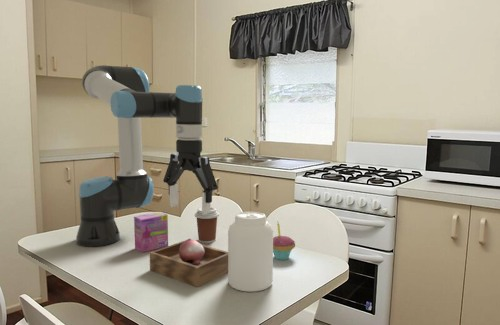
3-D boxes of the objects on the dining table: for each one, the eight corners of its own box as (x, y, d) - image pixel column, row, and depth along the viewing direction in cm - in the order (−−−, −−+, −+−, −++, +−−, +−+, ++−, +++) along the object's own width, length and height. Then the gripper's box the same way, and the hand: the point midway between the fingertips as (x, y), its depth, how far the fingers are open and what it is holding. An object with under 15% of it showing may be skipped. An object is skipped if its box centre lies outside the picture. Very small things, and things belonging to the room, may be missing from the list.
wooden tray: (149, 270, 123) (149, 252, 122) (185, 256, 135) (185, 240, 134) (197, 287, 111) (197, 267, 111) (231, 270, 123) (231, 252, 122)
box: (142, 252, 138) (141, 219, 137) (134, 248, 142) (133, 216, 141) (168, 246, 145) (168, 214, 144) (161, 242, 149) (160, 211, 148)
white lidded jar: (278, 289, 110) (280, 218, 107) (234, 295, 106) (234, 221, 104) (264, 272, 122) (264, 207, 119) (223, 277, 118) (223, 210, 116)
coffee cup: (192, 243, 148) (191, 211, 147) (198, 236, 157) (197, 205, 156) (216, 244, 147) (216, 212, 146) (221, 237, 156) (221, 206, 155)
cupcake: (263, 257, 134) (264, 222, 133) (279, 251, 141) (280, 217, 139) (284, 263, 129) (284, 227, 127) (300, 257, 135) (300, 222, 133)
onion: (185, 259, 127) (190, 237, 128) (206, 265, 124) (211, 242, 125) (172, 260, 120) (177, 236, 121) (194, 266, 117) (200, 241, 118)
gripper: (151, 137, 123) (152, 205, 125) (212, 142, 108) (212, 219, 111) (169, 136, 129) (170, 201, 131) (230, 140, 114) (229, 214, 117)
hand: (189, 209), depth 121 cm, fingers open, 13 cm apart
